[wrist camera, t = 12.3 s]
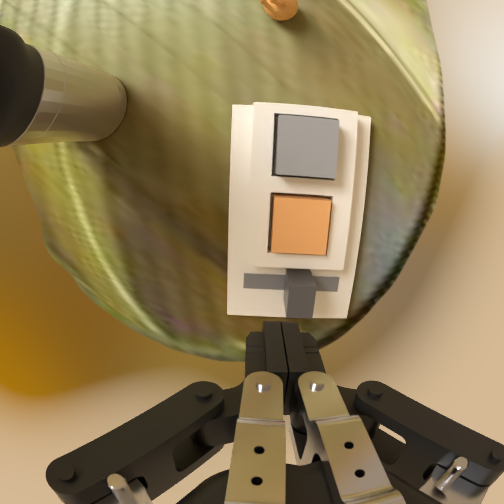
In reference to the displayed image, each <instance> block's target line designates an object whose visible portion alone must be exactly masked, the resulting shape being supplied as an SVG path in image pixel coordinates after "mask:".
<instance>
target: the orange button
mask: <svg viewBox="0 0 504 504" xmlns="http://www.w3.org/2000/svg"><path fill="white" fill-rule="evenodd" d="M330 208H331V201H330V200H329V199H328V198H327V197H325V196H312V195H297V194H280V193H273V208H272V225H271V242H270V245H271V252H273V253H294V254H315V255H326V246H327V238H328V228H329V219H330Z"/></svg>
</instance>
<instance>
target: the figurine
mask: <svg viewBox="0 0 504 504" xmlns="http://www.w3.org/2000/svg"><path fill="white" fill-rule="evenodd" d="M260 2H261V3H262V4H263V5H264V9H265V12H266V13H267V14H268V15H269V16H270V17H271V18H273V19H275V20H281V21H282V20H288V19H290V18H292V17H293V16H294V15H295V14H296V13H297V10H298V3H297V0H260Z"/></svg>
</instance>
